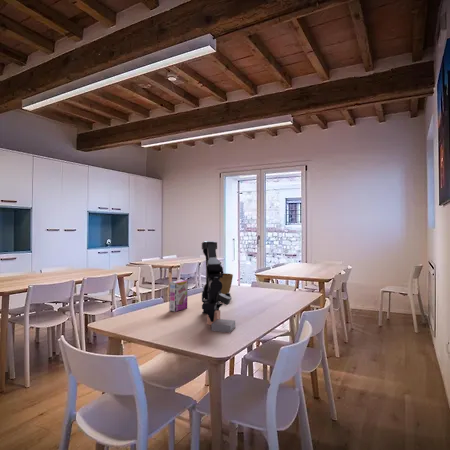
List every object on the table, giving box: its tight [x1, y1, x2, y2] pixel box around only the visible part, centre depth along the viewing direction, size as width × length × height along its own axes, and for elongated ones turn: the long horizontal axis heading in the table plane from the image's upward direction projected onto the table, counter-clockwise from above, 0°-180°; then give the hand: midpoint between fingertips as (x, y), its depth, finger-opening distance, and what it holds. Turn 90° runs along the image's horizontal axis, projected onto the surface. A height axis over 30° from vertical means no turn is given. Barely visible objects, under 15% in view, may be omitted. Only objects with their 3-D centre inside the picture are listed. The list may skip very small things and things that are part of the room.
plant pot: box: [220, 272, 234, 294], centre depth 222 cm, size 15×15×16 cm
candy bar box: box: [168, 279, 189, 313], centre depth 191 cm, size 11×5×16 cm, turn 149°
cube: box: [206, 309, 221, 326], centre depth 163 cm, size 5×5×6 cm
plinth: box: [210, 318, 236, 333], centre depth 154 cm, size 9×9×3 cm
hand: (213, 320), depth 163 cm, fingers closed on cube, 5 cm apart
